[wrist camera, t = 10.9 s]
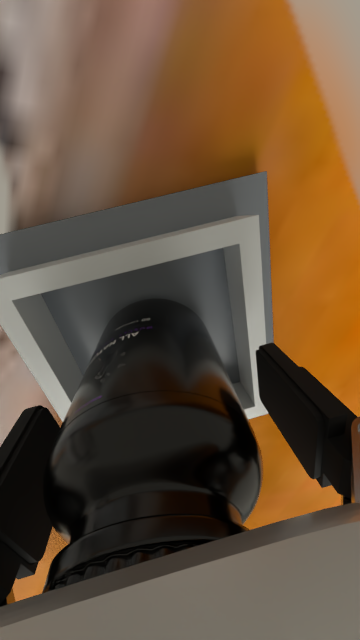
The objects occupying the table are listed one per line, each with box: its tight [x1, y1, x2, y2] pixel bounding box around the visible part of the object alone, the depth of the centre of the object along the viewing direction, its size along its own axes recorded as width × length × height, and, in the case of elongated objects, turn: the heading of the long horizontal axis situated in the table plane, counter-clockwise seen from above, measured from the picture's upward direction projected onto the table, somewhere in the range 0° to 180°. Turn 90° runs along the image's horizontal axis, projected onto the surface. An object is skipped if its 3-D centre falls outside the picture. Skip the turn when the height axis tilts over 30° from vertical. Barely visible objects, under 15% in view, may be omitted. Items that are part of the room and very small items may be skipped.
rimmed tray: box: [0, 171, 274, 422], centre depth 14 cm, size 16×16×4 cm
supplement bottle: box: [42, 298, 263, 593], centre depth 9 cm, size 7×7×12 cm
